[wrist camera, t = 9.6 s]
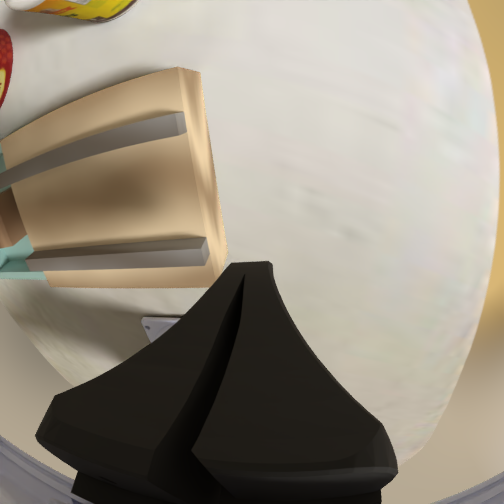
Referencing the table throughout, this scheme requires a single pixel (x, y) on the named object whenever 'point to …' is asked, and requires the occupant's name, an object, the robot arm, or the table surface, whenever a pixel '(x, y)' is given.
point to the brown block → (10, 220)
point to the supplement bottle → (76, 8)
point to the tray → (16, 252)
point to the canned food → (5, 63)
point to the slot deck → (121, 187)
